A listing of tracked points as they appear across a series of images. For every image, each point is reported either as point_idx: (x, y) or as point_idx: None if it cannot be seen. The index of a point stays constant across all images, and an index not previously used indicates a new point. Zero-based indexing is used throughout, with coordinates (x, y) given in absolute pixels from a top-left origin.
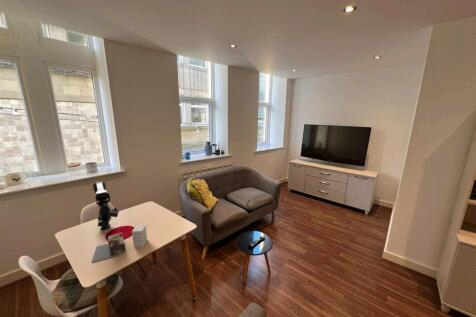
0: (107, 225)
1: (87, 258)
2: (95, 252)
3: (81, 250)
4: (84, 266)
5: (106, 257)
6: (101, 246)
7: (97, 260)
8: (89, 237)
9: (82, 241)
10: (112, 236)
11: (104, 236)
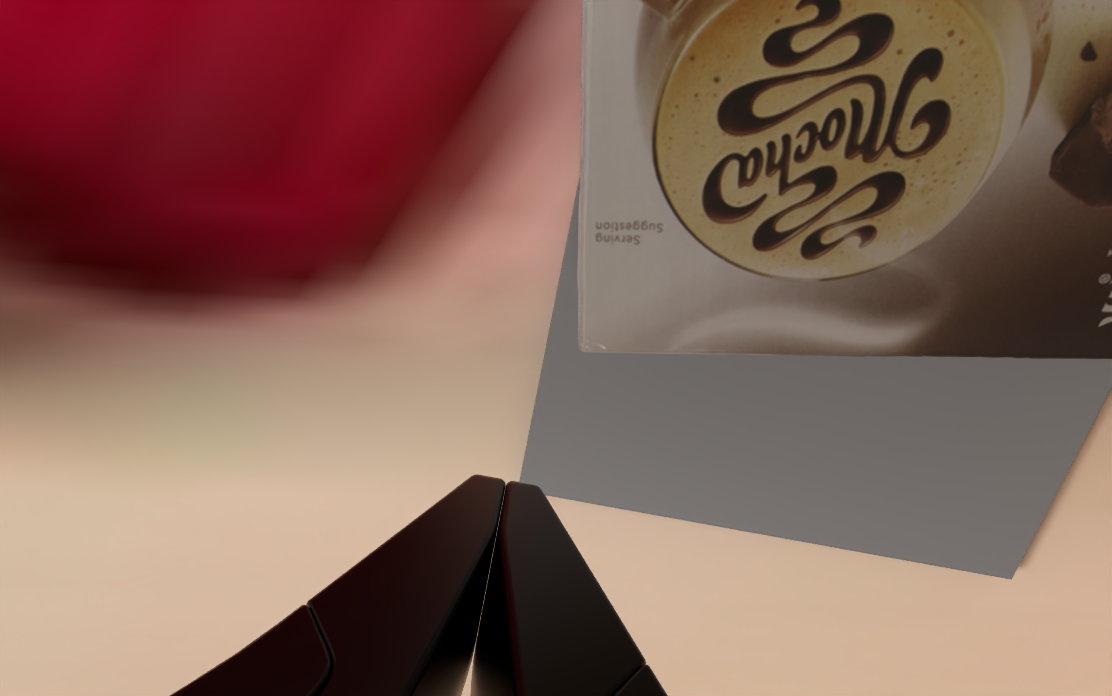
0: (623, 652)
1: (800, 613)
2: (735, 518)
3: (468, 678)
4: (1005, 650)
5: (1096, 359)
6: (579, 416)
7: (1051, 501)
8: (53, 573)
9: (157, 664)
10: (685, 223)
11: (139, 332)
